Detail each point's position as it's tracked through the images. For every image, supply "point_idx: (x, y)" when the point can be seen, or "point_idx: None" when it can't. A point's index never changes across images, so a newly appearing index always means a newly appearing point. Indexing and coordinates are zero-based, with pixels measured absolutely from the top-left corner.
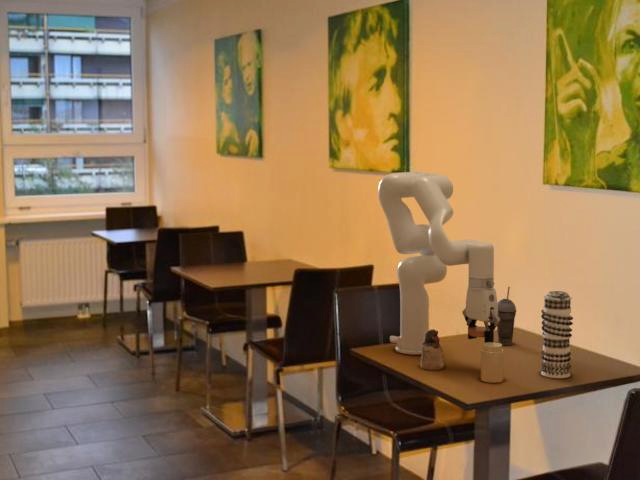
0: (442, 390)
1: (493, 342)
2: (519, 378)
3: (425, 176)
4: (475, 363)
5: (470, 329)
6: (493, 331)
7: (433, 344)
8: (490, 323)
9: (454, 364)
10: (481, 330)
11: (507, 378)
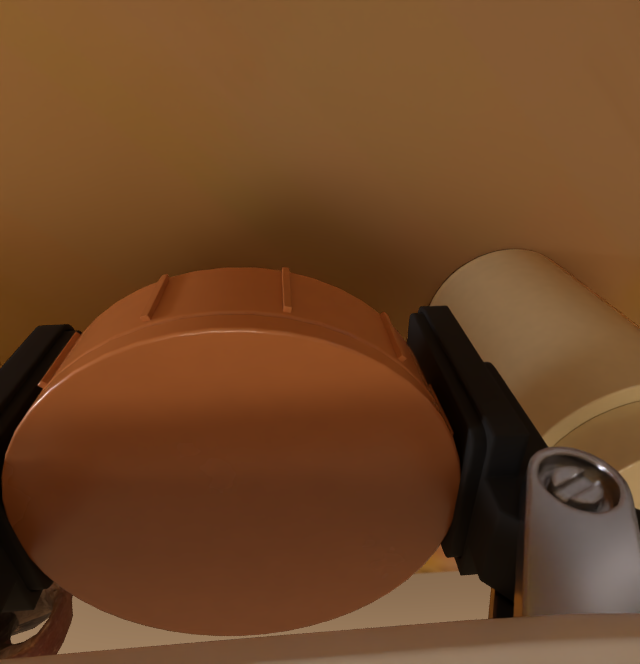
0: (453, 566)
1: (626, 474)
2: (624, 130)
3: None
4: (59, 132)
5: (210, 634)
6: (510, 412)
7: (35, 613)
8: (537, 614)
9: (39, 302)
10: (365, 563)
11: (554, 212)
